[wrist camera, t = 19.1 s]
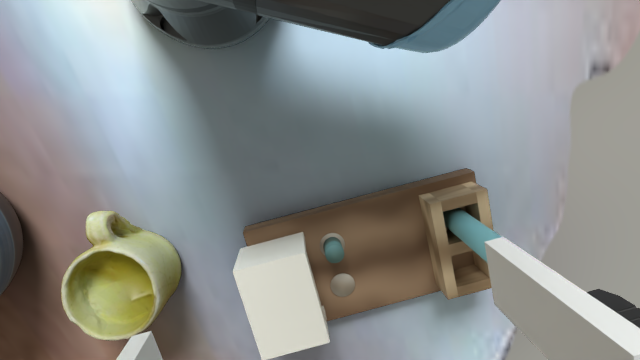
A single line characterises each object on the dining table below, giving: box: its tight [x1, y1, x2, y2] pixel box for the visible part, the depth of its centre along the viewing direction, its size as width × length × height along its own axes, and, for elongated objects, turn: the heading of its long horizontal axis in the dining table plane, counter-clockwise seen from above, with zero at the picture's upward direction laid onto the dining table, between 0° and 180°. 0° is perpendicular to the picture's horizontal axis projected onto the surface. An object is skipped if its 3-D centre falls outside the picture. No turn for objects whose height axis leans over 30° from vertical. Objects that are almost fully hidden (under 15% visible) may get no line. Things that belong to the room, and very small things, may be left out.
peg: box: [443, 208, 501, 263], centre depth 37 cm, size 2×2×12 cm
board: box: [243, 168, 493, 321], centre depth 43 cm, size 13×26×6 cm, turn 105°
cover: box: [233, 232, 330, 360], centre depth 40 cm, size 10×7×6 cm
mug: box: [61, 211, 181, 341], centre depth 40 cm, size 12×10×10 cm
